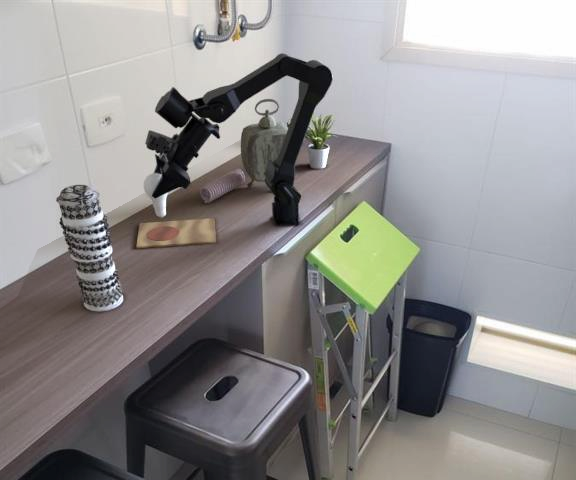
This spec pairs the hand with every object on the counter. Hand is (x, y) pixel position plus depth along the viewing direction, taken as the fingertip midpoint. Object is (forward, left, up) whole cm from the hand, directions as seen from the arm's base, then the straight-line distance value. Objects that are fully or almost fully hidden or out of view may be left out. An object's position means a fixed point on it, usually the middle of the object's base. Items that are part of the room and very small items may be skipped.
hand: (151, 192), depth 144 cm
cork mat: (-4, -2, -12) cm, 13 cm away
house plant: (-50, -47, -12) cm, 70 cm away
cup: (-46, -68, -12) cm, 83 cm away
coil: (-18, -28, -12) cm, 35 cm away
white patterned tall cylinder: (+11, +29, -12) cm, 34 cm away
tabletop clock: (-32, -29, -12) cm, 45 cm away
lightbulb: (-1, 0, -7) cm, 7 cm away
